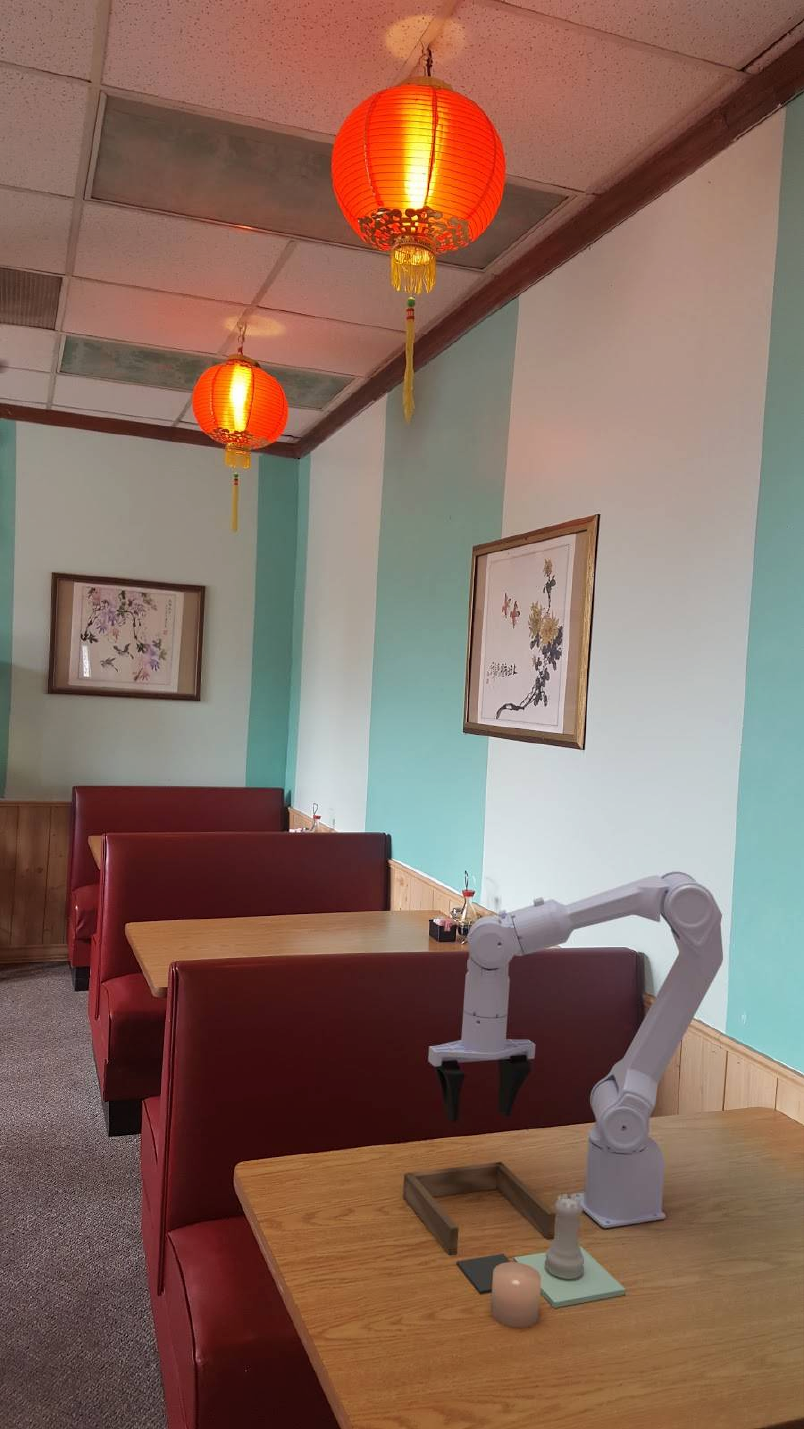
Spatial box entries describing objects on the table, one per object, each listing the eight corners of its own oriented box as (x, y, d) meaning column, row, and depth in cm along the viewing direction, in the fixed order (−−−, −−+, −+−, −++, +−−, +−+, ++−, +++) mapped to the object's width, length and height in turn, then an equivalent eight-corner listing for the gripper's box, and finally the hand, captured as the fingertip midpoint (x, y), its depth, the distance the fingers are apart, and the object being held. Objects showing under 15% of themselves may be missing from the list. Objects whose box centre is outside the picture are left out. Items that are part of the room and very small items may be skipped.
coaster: (580, 1251, 118) (580, 1246, 118) (625, 1294, 110) (625, 1289, 110) (513, 1262, 115) (513, 1257, 115) (554, 1308, 106) (554, 1302, 106)
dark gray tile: (503, 1256, 116) (503, 1253, 116) (529, 1285, 110) (529, 1282, 110) (456, 1263, 114) (456, 1261, 114) (480, 1293, 108) (480, 1291, 108)
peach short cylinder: (523, 1295, 108) (526, 1259, 108) (547, 1323, 104) (550, 1284, 104) (482, 1303, 106) (485, 1266, 106) (504, 1331, 102) (507, 1292, 102)
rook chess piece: (587, 1282, 110) (592, 1210, 110) (546, 1279, 110) (551, 1207, 110) (580, 1260, 115) (585, 1191, 115) (541, 1257, 115) (546, 1188, 115)
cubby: (499, 1184, 134) (501, 1161, 134) (554, 1237, 121) (555, 1213, 121) (402, 1196, 128) (404, 1173, 128) (449, 1254, 115) (450, 1228, 115)
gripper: (519, 999, 136) (512, 1099, 136) (421, 1004, 131) (414, 1108, 131) (546, 1015, 130) (538, 1120, 130) (444, 1021, 124) (437, 1130, 124)
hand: (478, 1115), depth 130 cm, fingers open, 7 cm apart
